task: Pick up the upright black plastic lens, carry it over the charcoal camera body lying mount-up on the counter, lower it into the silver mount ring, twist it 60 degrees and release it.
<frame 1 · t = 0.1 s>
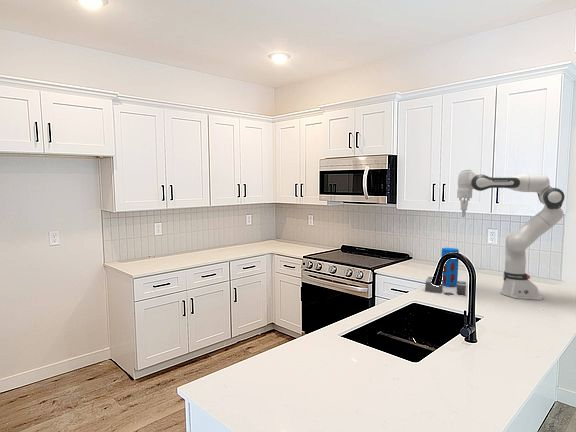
hand: (463, 216, 255), 48 cm above the worktop, fingers open, 8 cm apart
camera body: (434, 290, 253), on the worktop
lens: (461, 294, 245), on the worktop
blue red-spotted block: (448, 285, 268), on the worktop
lens cap: (448, 294, 245), on the worktop
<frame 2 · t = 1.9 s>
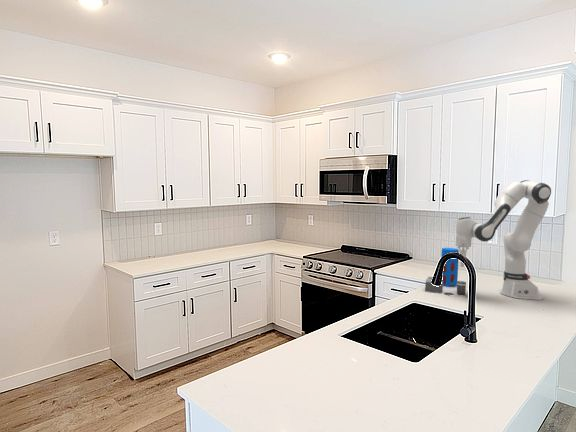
hand: (462, 265, 243), 18 cm above the worktop, fingers open, 8 cm apart
nothing on the worktop moved.
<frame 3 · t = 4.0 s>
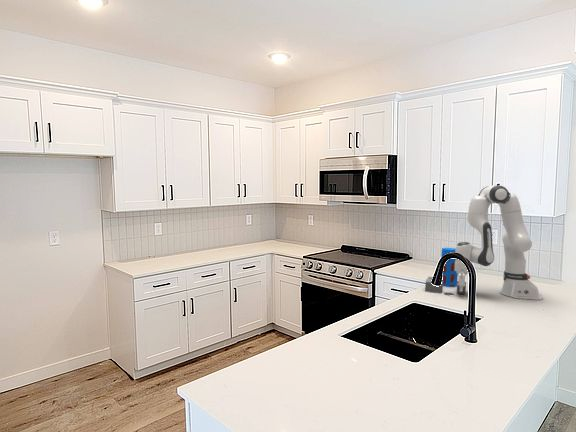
hand: (461, 290, 244), 3 cm above the worktop, fingers closed on lens, 5 cm apart
lens: (461, 294, 245), on the worktop, touching gripper
everything else where it was.
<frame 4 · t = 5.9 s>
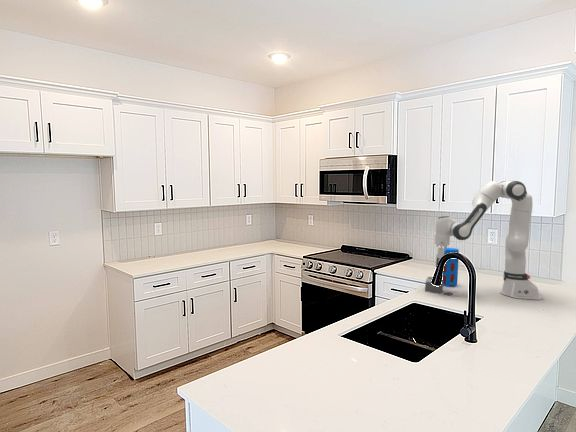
hand: (440, 263, 249), 18 cm above the worktop, fingers closed on lens, 5 cm apart
lens: (440, 267, 250), point 16 cm above the worktop, touching gripper
everything else where it was.
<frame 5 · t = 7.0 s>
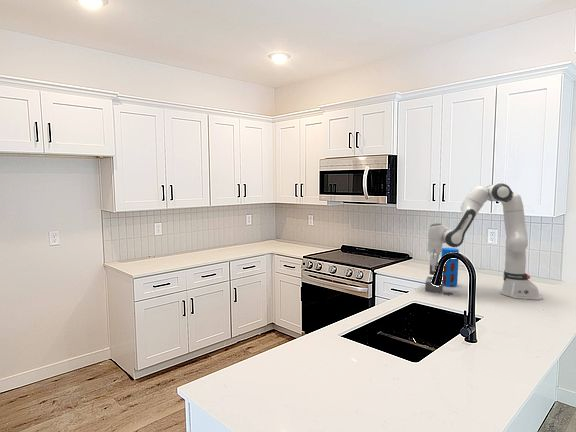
hand: (433, 270, 252), 13 cm above the worktop, fingers closed on lens, 5 cm apart
lens: (433, 274, 253), point 11 cm above the worktop, touching gripper
everything else where it was.
when the fingers open (9 cm above the worktop, at t = 8.5 s): lens stays where it is, resting on camera body.
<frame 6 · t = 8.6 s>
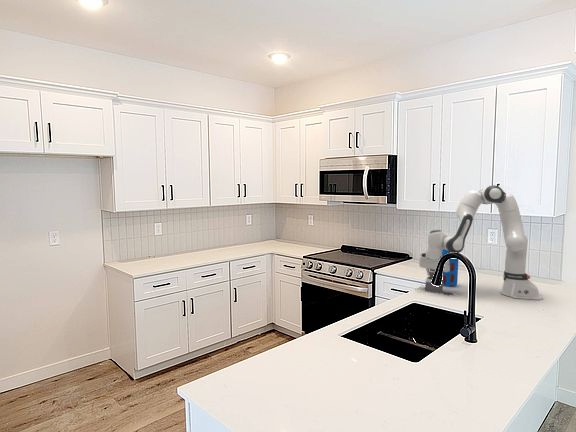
hand: (433, 276, 252), 9 cm above the worktop, fingers open, 5 cm apart
lens: (433, 281, 252), point 6 cm above the worktop, touching camera body
everything else where it was.
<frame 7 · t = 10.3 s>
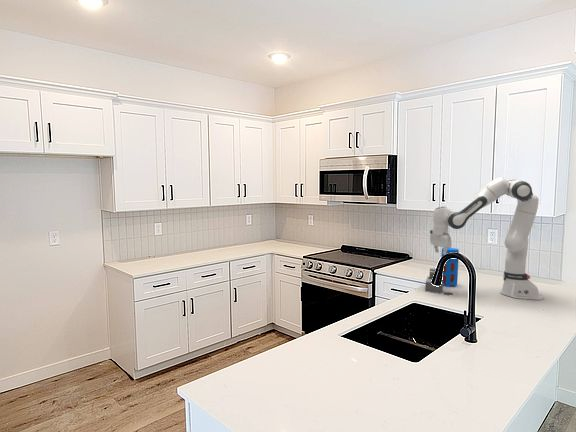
hand: (440, 253, 253), 24 cm above the worktop, fingers open, 8 cm apart
nothing on the worktop moved.
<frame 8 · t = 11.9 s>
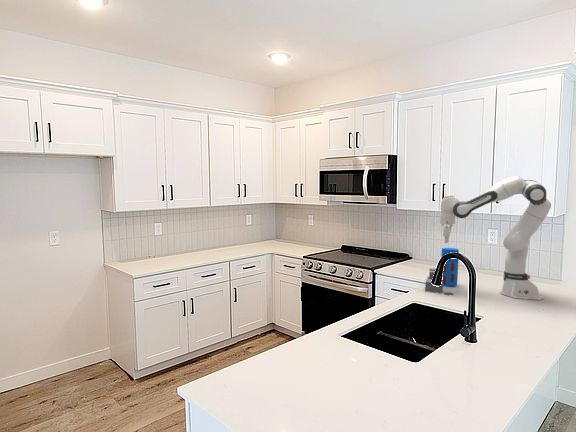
hand: (446, 242, 255), 31 cm above the worktop, fingers open, 8 cm apart
nothing on the worktop moved.
at the end: lens 0.5 cm off-centre on the camera body, point 6.0 cm above the camera body's base; lens tilted 1°; the gripper is holding nothing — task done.
